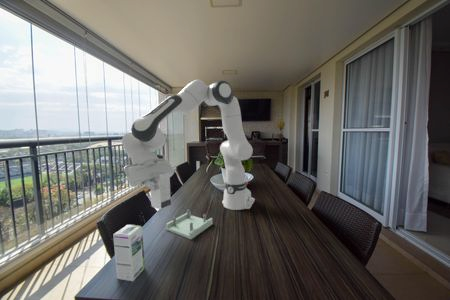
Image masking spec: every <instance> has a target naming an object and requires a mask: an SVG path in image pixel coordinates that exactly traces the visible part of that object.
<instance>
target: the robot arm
mask: <svg viewBox="0 0 450 300" xmlns="http://www.w3.org/2000/svg"><path fill="white" fill-rule="evenodd" d="M202 104H203V105H205V106H206V107H214V106H215V107H216V106H218V108H219V109H220V113H221V114H220V115H221V116H220V117H221V122H222V130H223V132H224V134H225V135H226V138H227V140H225V141H223V142H221V144H220V145H219V151H220V153H221V155H222V158H223V162H224V167H225V168H224V169H225V183H224V185H225V188H224V190H223V200H222V201H221V203H222V205H223V207H224V208H226V209H227V210H231V211H240V210H241V211H242V210H250V209H251V208H252V206H253V204H254V203H255V200H256V199H255V198H254V197H252V192H251V190H250V189H248V188H247V185H248V183H249V182H248V181H247V180H246V179H245V178H246V176H245V175H246V172H245V167H244V166H243V163H242V161H246V160H249V159H250V158H251V157H252V155H253V151H254V149H253V147H252V145H251V144H250V142H249V140H248V139H247V137H246V135H245V132H244V128H243V122H242V112H241V107H240V104H239V100H238V98H237V97H236V96H234V91H233V88H232V87H231V84H230V83H229V82H227V81H226V80H217V81H216V82H213V83H211V84H209V85H207V84H206V83H205V81H203V80H201V79H194V80H192V81H191V82H189V83H188V84H187V85H185V86H184V87H183V88H182V89H181V90H180V91H179V92H178V93H177V94H172V95H169V96H168V97H167V98H165V99H164V100H163V101H161V102H160V103H159V104H157V105H156V106H155V107H154V108H152V109H150V110H149V112H147V113H145V114H143V115H142V116H140V117H138V118H137V119H136V120H134V122H133V123H132V124H131V129H130V131H128V132H126V133H125V134H124V135H123V136H122V138H121V145H122V147H123V149H124V151H125V153H126V155H127V156H128V157H129V158H130V160H131V163H132V164H128V165H125V166H124V167H123V173H124V174H125V177H126V179H127V182H128V184H129V185H130V186H131V187H134V188H135V187H138V186H142V185H144V186H145V187H146V188H148V189H150V191H151V190H152V191H155V190H156V189H157V187H156V186H155V185H152V184H151V183H150V179H152V176H151V175H150V173H154V172H158V171H163V172H169V173H170V178H171V177H172V176H173V175H174V173H175V169H174V167H173V165H171V163H170V162H169V161H168V160H166V156H165V155H163V154H156V153H154V152H156V151H158V150H161V149H162V148H163V147H164V146H165V145H166V142H167V136H166V134H165V133H164V132H163V131H162V129H161V128H160V124H161V123H162V122H164V120H166V118H168V117H169V116H170V115H172V114H173V113H179V114H180V115H187V116H189V115H191V114H192V113H193V112H195V111H196V110H197V109H198V108H199V106H200V105H202Z"/></svg>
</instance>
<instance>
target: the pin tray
mask: <svg viewBox="0 0 450 300" xmlns="http://www.w3.org/2000/svg"><path fill="white" fill-rule="evenodd" d="M202 217H203V218H202ZM202 217H199V216H195V215H193V214H191V209H187V210H186V213H184V214H182V215H180V216H178V217H176V216H173V217H172V220H171V221H169V222H167V223H165V229H166V231H169V232H171V233H174V234H175V235H176V234H177V235H179V236H182V237H184V238H186V239H189V240H193V239H194V238H195V237H197V236H199V234H200V233H202V232H204V231H206V229H208V228H209V227H211V226H212V225H213V223H214V222H213V217H210V218H208V219H207V215H206V214H205V213H204V214H203V215H202Z"/></svg>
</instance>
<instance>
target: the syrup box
mask: <svg viewBox="0 0 450 300" xmlns="http://www.w3.org/2000/svg"><path fill="white" fill-rule="evenodd" d="M113 247H114V259H115V260H114V261H115V269H116V271H115V272H116V278H117V280H122V281H128V282H134V281H135V280H136V278H137V277H138V276H139V275H140V274H141V273H143V271H144V269H145V268H146V263H145V262H146V261H145V249H144V236H143V226H141V225H138V224H137V225H136V224H126V225H125V226H124V227H122V228H120V229H119V230H118V231H116V232H115V233H113Z"/></svg>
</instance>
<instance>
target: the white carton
mask: <svg viewBox="0 0 450 300" xmlns="http://www.w3.org/2000/svg"><path fill="white" fill-rule="evenodd" d="M150 175H151V176H152V179H150V183H151V184H152V185H155V186H156V187H157V189H156V190H155V191H152V190H151V189H150V200H151V201H150V202H151V203H150V204H151V207H152V208H155V209H159V210H163V209H166V208H167V207H170V206H172V199H171V177H170V173H169V172H163V171H158V172H154V173H150Z"/></svg>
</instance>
